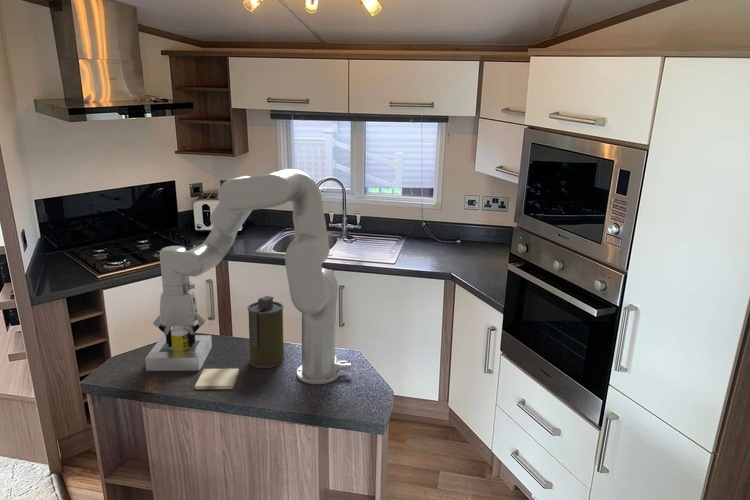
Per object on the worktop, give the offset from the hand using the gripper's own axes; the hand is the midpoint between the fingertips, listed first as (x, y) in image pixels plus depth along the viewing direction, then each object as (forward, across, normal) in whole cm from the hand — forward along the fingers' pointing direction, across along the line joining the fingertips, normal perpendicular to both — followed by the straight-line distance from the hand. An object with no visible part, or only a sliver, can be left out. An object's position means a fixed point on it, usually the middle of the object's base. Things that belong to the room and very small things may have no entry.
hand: (181, 344), depth 162 cm
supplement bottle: (+3, 0, 0) cm, 3 cm away
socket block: (+4, 0, 0) cm, 5 cm away
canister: (+5, -25, +2) cm, 26 cm away
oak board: (+5, -13, +14) cm, 20 cm away
